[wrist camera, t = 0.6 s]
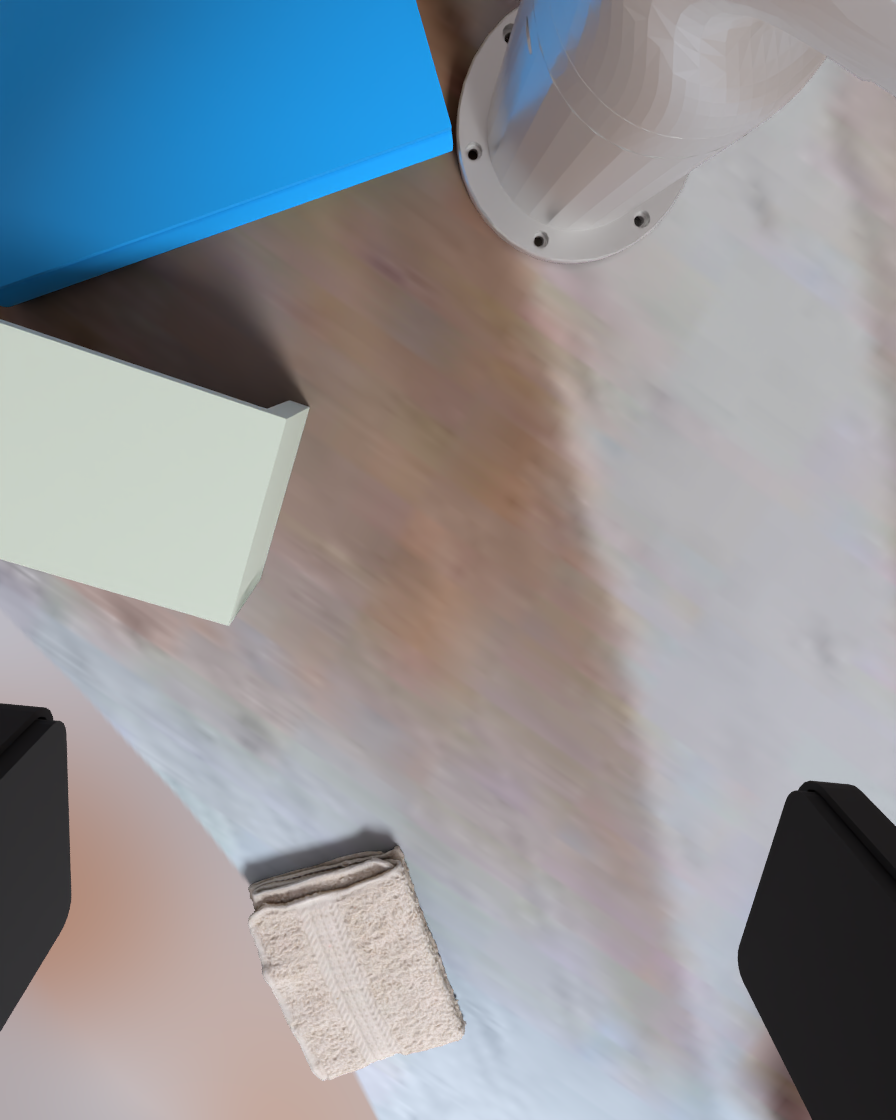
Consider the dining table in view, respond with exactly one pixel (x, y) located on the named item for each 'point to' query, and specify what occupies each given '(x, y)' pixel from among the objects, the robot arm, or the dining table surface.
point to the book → (194, 121)
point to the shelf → (137, 476)
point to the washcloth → (353, 962)
